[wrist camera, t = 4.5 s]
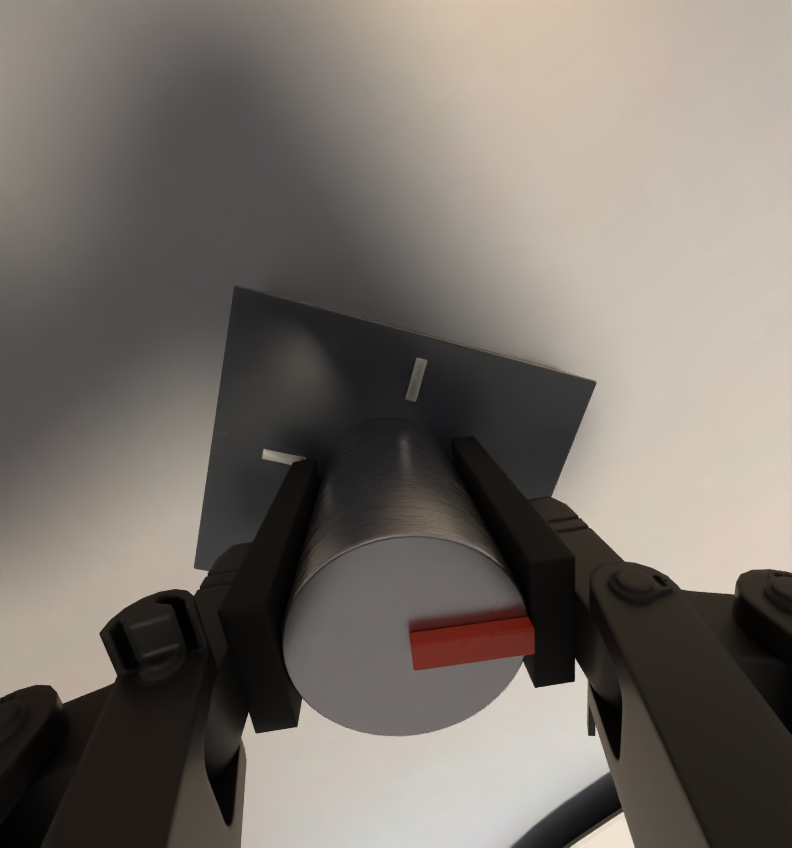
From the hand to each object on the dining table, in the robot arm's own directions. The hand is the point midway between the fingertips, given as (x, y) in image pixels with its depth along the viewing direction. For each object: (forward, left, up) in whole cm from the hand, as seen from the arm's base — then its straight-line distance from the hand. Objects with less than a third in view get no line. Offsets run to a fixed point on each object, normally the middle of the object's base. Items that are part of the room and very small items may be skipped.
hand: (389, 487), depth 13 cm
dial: (0, 0, -1) cm, 1 cm away
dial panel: (0, 0, -4) cm, 4 cm away
